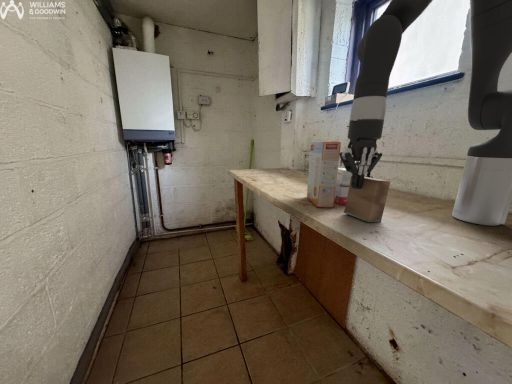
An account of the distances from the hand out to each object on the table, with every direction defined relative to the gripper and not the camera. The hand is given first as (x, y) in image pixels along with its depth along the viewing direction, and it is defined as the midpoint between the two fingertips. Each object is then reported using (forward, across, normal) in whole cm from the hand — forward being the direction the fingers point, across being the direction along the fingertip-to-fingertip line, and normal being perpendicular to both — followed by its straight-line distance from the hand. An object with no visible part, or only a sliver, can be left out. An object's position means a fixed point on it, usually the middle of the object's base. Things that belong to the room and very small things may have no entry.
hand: (356, 188), depth 54 cm
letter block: (+8, -4, 0) cm, 9 cm away
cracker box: (+9, -3, -17) cm, 20 cm away
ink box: (+9, -11, -15) cm, 21 cm away
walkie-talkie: (+9, -18, -10) cm, 22 cm away
